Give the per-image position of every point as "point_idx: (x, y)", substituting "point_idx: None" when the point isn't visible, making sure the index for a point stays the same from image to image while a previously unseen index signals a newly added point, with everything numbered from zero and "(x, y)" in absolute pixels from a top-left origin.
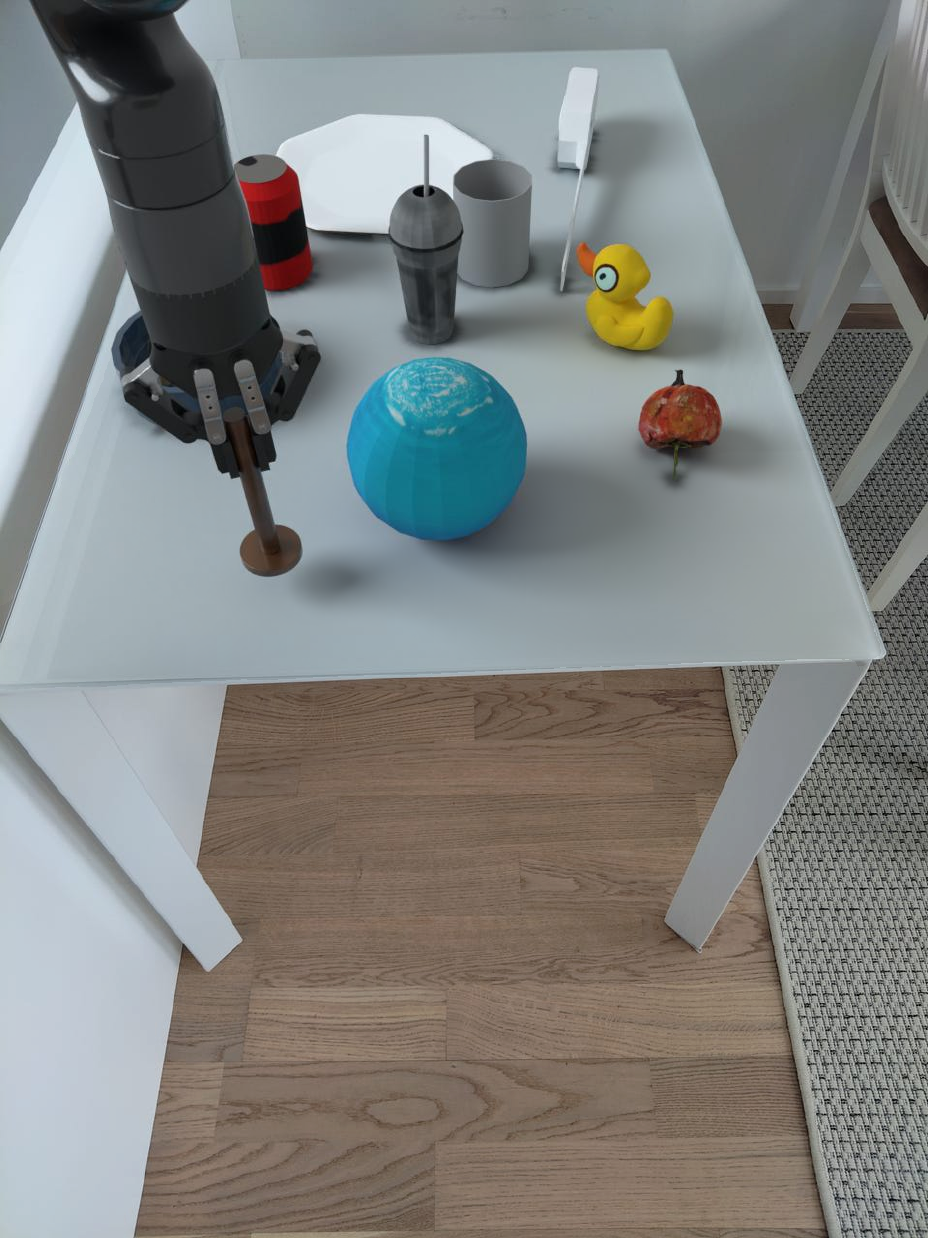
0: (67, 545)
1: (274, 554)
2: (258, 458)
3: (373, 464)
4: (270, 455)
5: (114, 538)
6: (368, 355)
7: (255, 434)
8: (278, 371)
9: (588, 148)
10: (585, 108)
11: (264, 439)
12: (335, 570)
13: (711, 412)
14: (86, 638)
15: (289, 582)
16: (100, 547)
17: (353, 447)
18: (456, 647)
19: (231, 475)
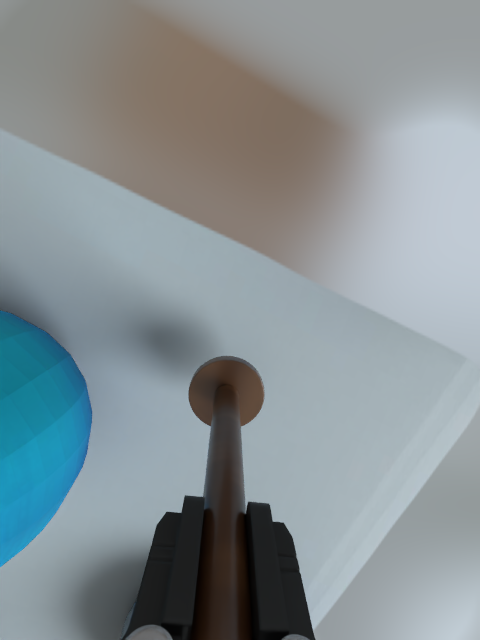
0: (392, 493)
1: (226, 383)
2: (199, 534)
3: (7, 440)
4: (169, 531)
5: (352, 484)
6: (35, 602)
7: (179, 628)
8: (130, 619)
9: None
10: None
11: (162, 591)
12: (168, 355)
13: None
14: (419, 386)
15: None
16: (367, 479)
17: (36, 489)
18: (76, 192)
19: (268, 511)
